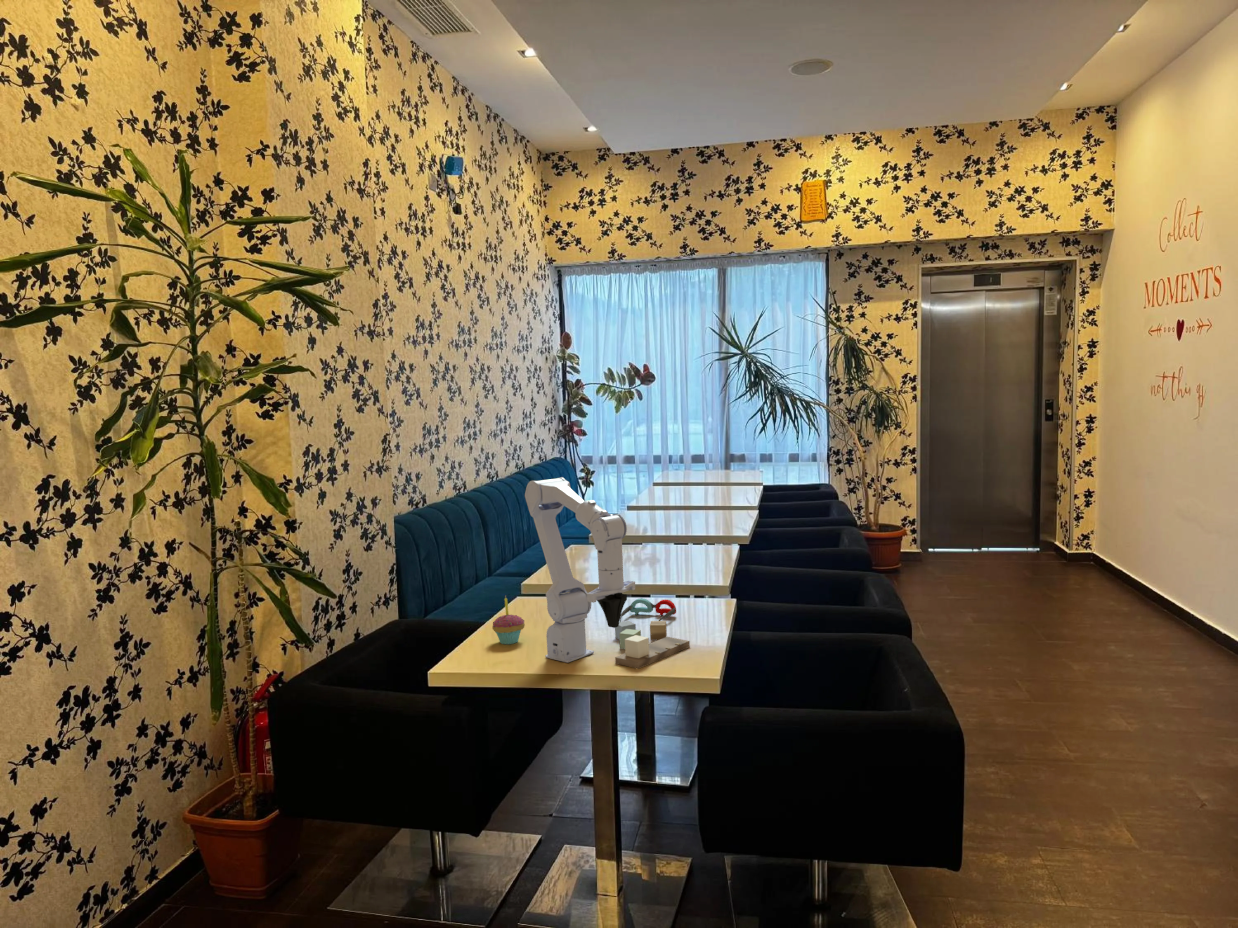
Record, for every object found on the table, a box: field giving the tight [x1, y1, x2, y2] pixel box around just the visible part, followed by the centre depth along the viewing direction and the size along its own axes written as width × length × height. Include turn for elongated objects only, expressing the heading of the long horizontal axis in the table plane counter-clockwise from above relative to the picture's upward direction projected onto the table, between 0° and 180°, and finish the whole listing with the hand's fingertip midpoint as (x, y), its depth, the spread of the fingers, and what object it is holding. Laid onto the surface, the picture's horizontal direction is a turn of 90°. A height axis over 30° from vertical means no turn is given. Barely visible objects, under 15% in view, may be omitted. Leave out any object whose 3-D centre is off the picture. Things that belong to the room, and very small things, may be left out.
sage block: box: [619, 629, 642, 650], centre depth 213 cm, size 4×4×4 cm
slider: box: [624, 635, 650, 659], centre depth 201 cm, size 4×4×4 cm
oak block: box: [649, 620, 668, 641], centre depth 220 cm, size 4×4×4 cm
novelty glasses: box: [619, 598, 677, 622], centre depth 237 cm, size 14×15×5 cm
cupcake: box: [491, 595, 526, 645], centre depth 222 cm, size 9×8×12 cm
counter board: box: [614, 636, 691, 669], centre depth 206 cm, size 20×7×2 cm, turn 139°
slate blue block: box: [614, 620, 637, 641], centre depth 221 cm, size 4×4×4 cm
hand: (613, 626), depth 194 cm, fingers closed
